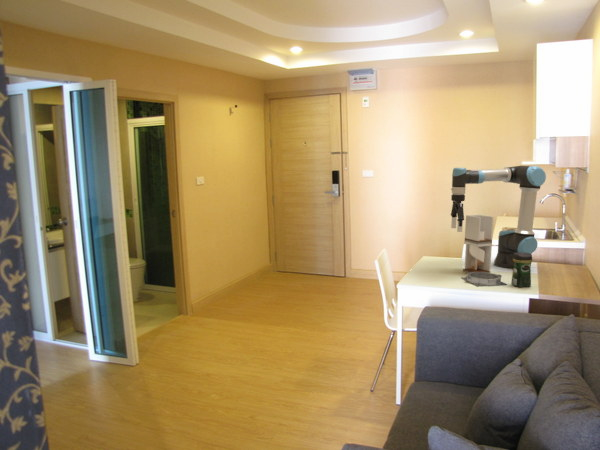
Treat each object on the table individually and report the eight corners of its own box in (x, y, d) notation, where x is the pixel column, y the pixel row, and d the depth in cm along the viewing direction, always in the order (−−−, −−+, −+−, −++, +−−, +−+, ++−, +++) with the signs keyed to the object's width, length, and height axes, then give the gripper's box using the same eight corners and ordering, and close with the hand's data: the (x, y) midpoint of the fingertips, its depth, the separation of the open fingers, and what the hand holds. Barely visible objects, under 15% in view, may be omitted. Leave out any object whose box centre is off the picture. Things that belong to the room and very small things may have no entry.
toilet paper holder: (462, 271, 308) (465, 215, 303) (476, 270, 312) (479, 214, 307) (476, 276, 298) (479, 217, 293) (489, 274, 302) (493, 216, 297)
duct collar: (491, 276, 296) (492, 271, 296) (509, 285, 279) (509, 278, 278) (459, 278, 293) (459, 272, 292) (474, 286, 275) (475, 280, 275)
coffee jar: (525, 283, 282) (527, 251, 279) (532, 287, 274) (535, 254, 271) (508, 283, 281) (510, 251, 278) (516, 287, 273) (518, 254, 271)
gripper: (446, 192, 306) (445, 226, 309) (457, 196, 282) (455, 233, 285) (459, 192, 306) (457, 226, 309) (470, 196, 281) (469, 233, 284)
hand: (456, 230), depth 297 cm, fingers open, 13 cm apart
